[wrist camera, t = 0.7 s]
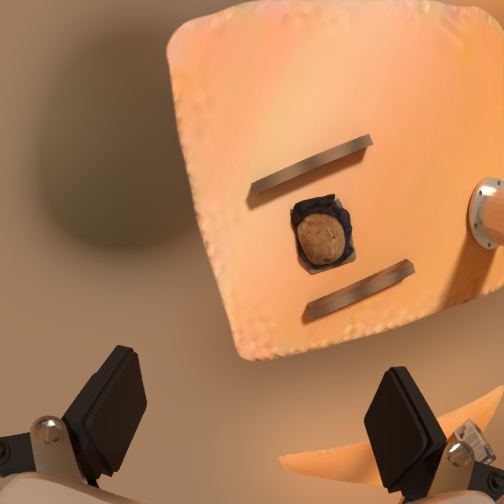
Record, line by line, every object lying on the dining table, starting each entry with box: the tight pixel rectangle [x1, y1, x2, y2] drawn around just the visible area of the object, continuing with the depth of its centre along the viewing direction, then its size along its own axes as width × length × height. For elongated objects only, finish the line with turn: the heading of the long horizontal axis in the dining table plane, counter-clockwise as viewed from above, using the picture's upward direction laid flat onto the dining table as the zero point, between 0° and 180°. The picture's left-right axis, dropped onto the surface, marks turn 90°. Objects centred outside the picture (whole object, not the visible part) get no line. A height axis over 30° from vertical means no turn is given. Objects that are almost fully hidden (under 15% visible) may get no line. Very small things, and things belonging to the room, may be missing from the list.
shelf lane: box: [251, 134, 415, 319], centre depth 37 cm, size 17×21×2 cm
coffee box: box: [454, 419, 496, 465], centre depth 43 cm, size 9×6×16 cm
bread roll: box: [290, 194, 356, 274], centre depth 38 cm, size 11×8×4 cm
